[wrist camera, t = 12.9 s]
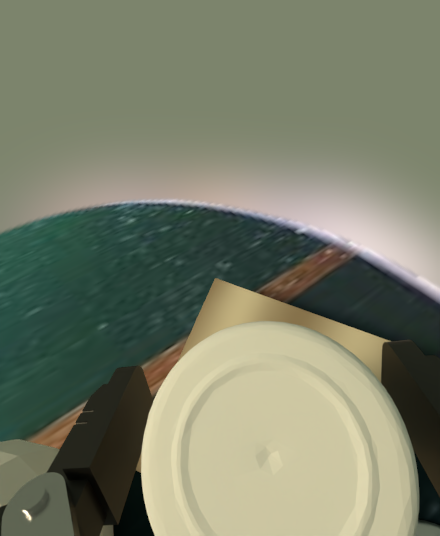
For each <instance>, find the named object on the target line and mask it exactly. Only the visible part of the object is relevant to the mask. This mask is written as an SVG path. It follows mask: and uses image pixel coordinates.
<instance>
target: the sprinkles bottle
mask: <svg viewBox="0 0 440 536" xmlns="http://www.w3.org/2000/svg"><path fill="white" fill-rule="evenodd" d="M141 477H142V489H143V496H144V502H145V506H146V511H147V515H148V518H149V521H150V524H151V527H152V530H153V532H154V535H155V536H415V535H416V530H417V526H418V514H419V482H418V473H417V465H416V460H415V455H414V450H413V447H412V444H411V440H410V437H409V435H408V432H407V429H406V426H405V424H404V422H403V419H402V417H401V415H400V413H399V411H398V409H397V407H396V405H395V403H394V402H393V400H392V398H391V396H390V395H389V393H388V392H387V390H386V389H385V387H384V386H383V385H382V384H381V382H380V381H379V380H378V379H377V377H376V376H375V375H374V374H373V372H372V371H371V370H370V369H369V368H368V367H367V366H366V365H365V364H364V363H363V362H362V361H361V360H360V359H359V358H358V357H357V356H356V355H355V354H353V353H352V352H350V351H349V350H348V349H346V348H345V347H343V346H342V345H341V344H339V343H338V342H336V341H334V340H333V339H331V338H329V337H327V336H325V335H323V334H321V333H319V332H317V331H315V330H312V329H310V328H307V327H304V326H300V325H296V324H291V323H286V322H276V321H256V322H249V323H242V324H239V325H235V326H232V327H228V328H225V329H223V330H220V331H218V332H216V333H214V334H212V335H211V336H209V337H207V338H206V339H204V340H202V341H201V342H200V343H198V344H197V345H196V346H194V347H193V348H192V349H190V350H189V351H188V352H187V353H186V354H185V355H184V356H183V357H182V358H181V359H180V360H179V361H178V362H177V364H176V365H175V366H174V367H173V368H172V370H171V371H170V373H169V374H168V376H167V377H166V379H165V380H164V382H163V384H162V385H161V387H160V389H159V390H158V393H157V395H156V397H155V399H154V401H153V404H152V407H151V409H150V412H149V415H148V419H147V424H146V428H145V432H144V437H143V444H142V454H141Z"/></svg>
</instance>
